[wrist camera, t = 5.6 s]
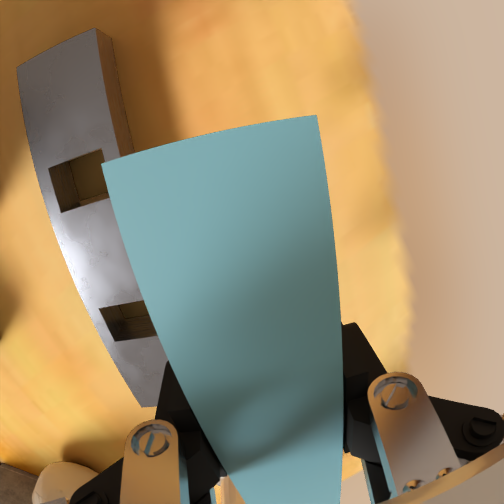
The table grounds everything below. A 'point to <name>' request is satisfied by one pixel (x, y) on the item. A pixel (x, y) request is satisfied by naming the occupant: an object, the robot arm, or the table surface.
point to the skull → (60, 481)
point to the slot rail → (95, 208)
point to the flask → (16, 485)
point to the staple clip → (245, 297)
